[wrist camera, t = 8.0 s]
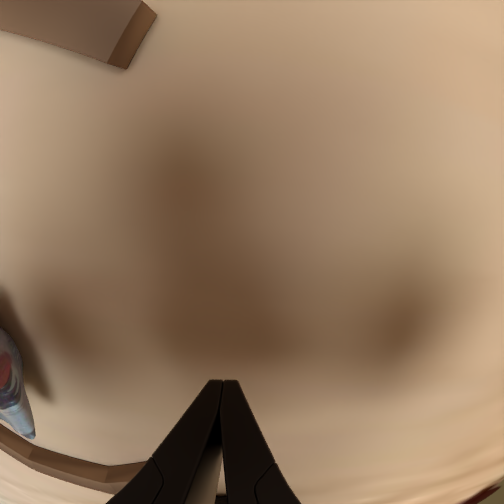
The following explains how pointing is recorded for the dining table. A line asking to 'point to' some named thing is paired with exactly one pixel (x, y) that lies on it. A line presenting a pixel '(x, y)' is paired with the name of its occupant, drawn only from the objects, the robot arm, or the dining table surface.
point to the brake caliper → (14, 389)
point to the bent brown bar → (111, 52)
